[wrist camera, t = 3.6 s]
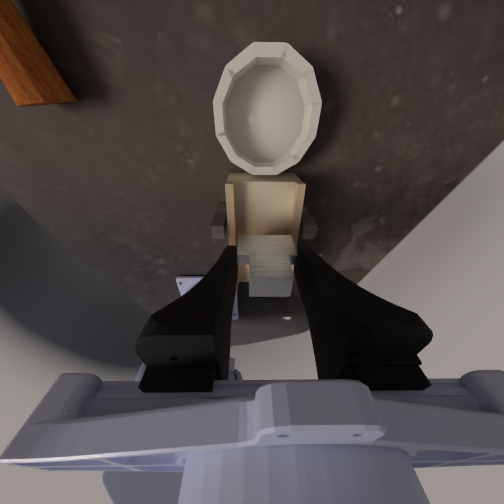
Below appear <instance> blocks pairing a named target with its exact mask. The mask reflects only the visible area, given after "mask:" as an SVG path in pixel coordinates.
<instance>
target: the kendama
mask: <svg viewBox="0 0 504 504" xmlns="http://www.w3.org/2000/svg"><path fill="white" fill-rule="evenodd" d="M0 78H1V80H2V82H3V83H4V85H5V87H6V88H7V90H8V92H9V93H10V95H11V96H12V98H13V100H14V101H15V103H16V105H17V106H36V105H48V104H58V103H66V102H74V101H77V99H76V98H75V96H74V95H73V93H72V92H71V90H70V89H69V87H68V86H67V84H66V83H65V81H64V80H63V78H62V77H61V75H60V73H59V72H58V70H57V69H56V67H55V66H54V64H53V63H52V61H51V60H50V58H49V57H48V55H47V54H46V52H45V51H44V49H43V48H42V46H41V45H40V43H39V42H38V40H37V39H36V37H35V36H34V34H33V33H32V31H31V29H30V28H29V26H28V25H27V23H26V22H25V20H24V19H23V17H22V16H21V14H20V13H19V11H18V10H17V8H16V7H15V5H14V4H13V2H12V1H11V0H0Z"/></svg>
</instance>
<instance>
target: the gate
mask: <svg viewBox="0 0 504 504" xmlns="http://www.w3.org/2000/svg"><path fill="white" fill-rule="evenodd" d="M297 257H298V254H297V250H296V247H295V245H294V242H293V239H292V236H291V235H239V239H238V249H237V265H249V297H290V295H291V290H292V285H293V280H294V275H293V271H292V267H291V265H296V262H297Z"/></svg>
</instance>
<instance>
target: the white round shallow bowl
mask: <svg viewBox="0 0 504 504" xmlns="http://www.w3.org/2000/svg"><path fill="white" fill-rule="evenodd" d="M321 102H322V100H321V96H320V92H319V88H318V85H317V81H316V77H315V73H314V69H313V66H312V65H311V64H310V63H308V62H307V61H306V60H305V59H304V58H303V57H302V56H301V55H300V54H299V53H298V52H297V51H296V50H295V49H294V48H292V47H291V46H290V45H289V44H288V43H285V42H254V43H252V44H251V45H249V46H248V47H247V48H246V49H245V50H243V51H242V52H241V53H240V54H239V55H237V56H236V57H235V58H234V59H233V60H231V61H230V62H229V63H228V64H227V65H226V66H225V69H224V71H223V74H222V77H221V80H220V83H219V85H218V88H217V91H216V94H215V97H214V99H213V108H214V119H215V130H216V137H217V138H218V140H219V142H220V144H221V145H222V147H223V149H224V150H225V152H226V154H227V156H228V157H229V159H230V161H231V162H232V163H234V164H236V165H237V166H239V167H241V168H242V169H244V170H245V171H247V172H249V173H250V174H253V175H277V174H279V173H281V172H282V171H284V170H286V169H288V168H289V167H291V166H293V165H295V164H296V163H298V161H300V160H301V158H302V157H303V155H304V154H305V152H306V151H307V149H308V148H309V146H310V145H311V143H312V142H313V140H314V139H315V137H316V133H317V128H318V122H319V117H320V111H321V106H322V103H321Z"/></svg>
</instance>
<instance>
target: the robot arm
mask: <svg viewBox="0 0 504 504" xmlns="http://www.w3.org/2000/svg"><path fill="white" fill-rule="evenodd" d="M297 254H298V257H297V262H296V265H294V273H295V279H296V283H297V286H298V289H299V292H300V295H301V299H302V302H303V305H304V308H305V311H306V314H307V319H308V323H309V328H310V332H311V338H312V343H313V349H314V355H315V361H316V367H317V374H318V380H243V379H242V376H241V374H240V372H239V371H238V370H236V369H234V363H235V359H234V358H231V357H230V344H231V332H232V321H233V320H237V319H238V300H237V281H238V265H237V245H228V246H227V247H226V248H225V250H224V252H223V253H222V255H221V256H220V258H219V259H218V260H217V262H216V263H215V264H214V266H213V267H212V268H211V269H210V270H209V272H208V273H207V274H206V275H205V276H178V277H177V279H176V282H177V285H178V288H179V291H180V294H181V297H179V298H178V299H177V300H175V301H174V302H172V303H170V304H169V305H167V306H166V307H164V308H162V309H160V310H159V311H157V312H155V313H154V314H152V315H151V316H150V318H149V319H148V321H147V322H146V324H145V326H144V327H143V329H142V331H141V333H140V335H139V337H138V339H137V341H136V343H135V351H136V353H137V355H138V356H139V357H140V359H141V360H142V361H143V363H142V366H141V368H140V370H139V372H138V375H137V377H136V379H135V381H101V379H100V378H99V377H98V376H96V375H94V374H90V373H63V374H61V375H60V376H59V377H58V379H57V380H56V381H55V383H54V384H53V385H52V387H51V388H50V389H49V391H48V392H47V393H46V395H45V396H44V398H43V399H42V400H41V402H40V403H39V404H38V406H37V407H36V408H35V410H34V411H33V413H32V414H31V415H30V417H29V418H28V419H27V421H26V422H25V423H24V425H23V426H22V427H21V429H20V430H19V431H18V433H17V434H16V436H15V437H14V438H13V439H12V441H11V442H10V444H9V445H8V446H7V448H6V449H5V450H4V452H3V453H2V454H1V456H0V463H2V464H8V465H14V466H21V467H27V468H34V469H40V470H47V471H73V470H74V471H102V474H101V477H100V482H101V485H102V487H103V489H104V491H105V492H106V494H107V496H108V498H109V500H110V502H111V503H112V504H430V503H429V500H428V498H427V496H426V494H425V492H424V490H423V487H422V485H421V483H420V481H419V479H418V477H417V475H416V472H415V470H414V468H426V467H446V466H471V465H504V371H501V370H477V371H472V372H469V373H467V374H465V375H463V376H462V377H461V378H460V379H427V377H426V376H425V375H424V373H423V371H422V370H421V368H420V367H419V365H421V364H422V363H421V361H420V359H419V358H418V356H417V354H418V353H419V352H420V351H421V350H422V349H423V348H424V347H426V346H427V345H428V344H429V343H430V342H431V340H432V337H433V333H432V331H431V329H430V328H429V327H428V326H427V325H426V324H425V322H424V321H423V320H422V319H421V318H420V316H419V315H418V314H417V313H414V312H412V311H409V310H407V309H404V308H402V307H400V306H397V305H395V304H393V303H390V302H388V301H386V300H384V299H382V298H380V297H378V296H376V295H374V294H372V293H370V292H368V291H367V290H365V289H363V288H361V287H359V286H358V285H356V284H355V283H353V282H351V281H350V280H348V279H347V278H345V277H344V276H343V275H341V274H340V273H339V272H337V271H336V270H335V269H333V268H332V267H331V266H330V265H328V264H327V263H326V262H325V261H324V260H323V259H322V258H321V257H319V256H318V255H317V254H316V253H315V252H314V251H313V250H312V249H311V248H310V247H308V246H298V249H297ZM181 282H182V283H181Z"/></svg>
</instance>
